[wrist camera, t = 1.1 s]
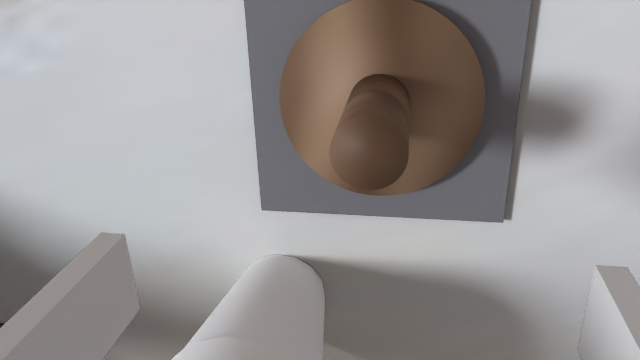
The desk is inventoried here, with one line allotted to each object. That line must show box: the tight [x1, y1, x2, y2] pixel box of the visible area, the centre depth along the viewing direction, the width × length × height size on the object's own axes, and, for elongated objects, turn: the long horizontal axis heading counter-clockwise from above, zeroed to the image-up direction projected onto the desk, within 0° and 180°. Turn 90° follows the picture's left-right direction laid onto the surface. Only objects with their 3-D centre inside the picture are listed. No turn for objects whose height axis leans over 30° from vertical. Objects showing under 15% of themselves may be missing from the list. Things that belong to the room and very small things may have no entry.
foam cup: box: [171, 254, 325, 360], centre depth 34 cm, size 10×9×13 cm
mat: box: [244, 0, 531, 223], centre depth 33 cm, size 16×16×1 cm
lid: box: [280, 0, 485, 196], centre depth 28 cm, size 12×12×9 cm
